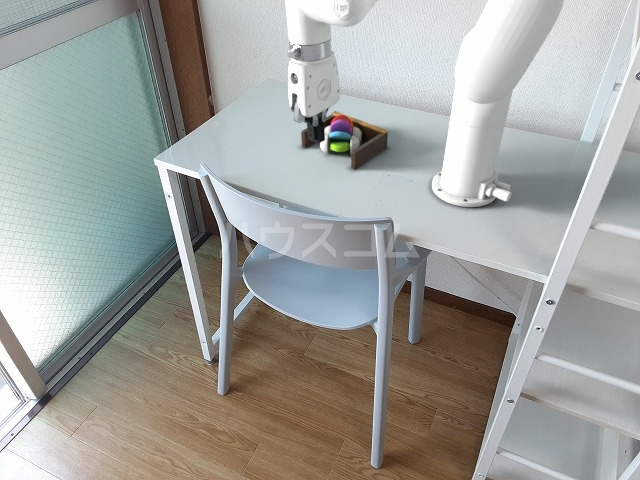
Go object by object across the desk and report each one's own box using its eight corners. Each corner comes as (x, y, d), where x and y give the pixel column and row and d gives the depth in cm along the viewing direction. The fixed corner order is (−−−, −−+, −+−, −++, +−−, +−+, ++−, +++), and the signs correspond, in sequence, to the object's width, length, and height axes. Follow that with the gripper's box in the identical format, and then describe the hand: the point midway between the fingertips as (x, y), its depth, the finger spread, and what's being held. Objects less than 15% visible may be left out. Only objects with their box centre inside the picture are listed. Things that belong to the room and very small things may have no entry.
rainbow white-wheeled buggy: (362, 138, 118) (363, 109, 113) (357, 160, 110) (358, 129, 106) (325, 136, 119) (325, 107, 114) (318, 158, 112) (317, 127, 107)
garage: (387, 148, 114) (388, 130, 111) (354, 170, 108) (355, 151, 105) (335, 128, 122) (335, 110, 119) (301, 147, 115) (300, 129, 112)
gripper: (297, 66, 87) (305, 161, 98) (352, 40, 95) (354, 131, 107) (266, 57, 91) (277, 149, 102) (322, 33, 99) (326, 121, 111)
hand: (316, 140), depth 105 cm, fingers closed
